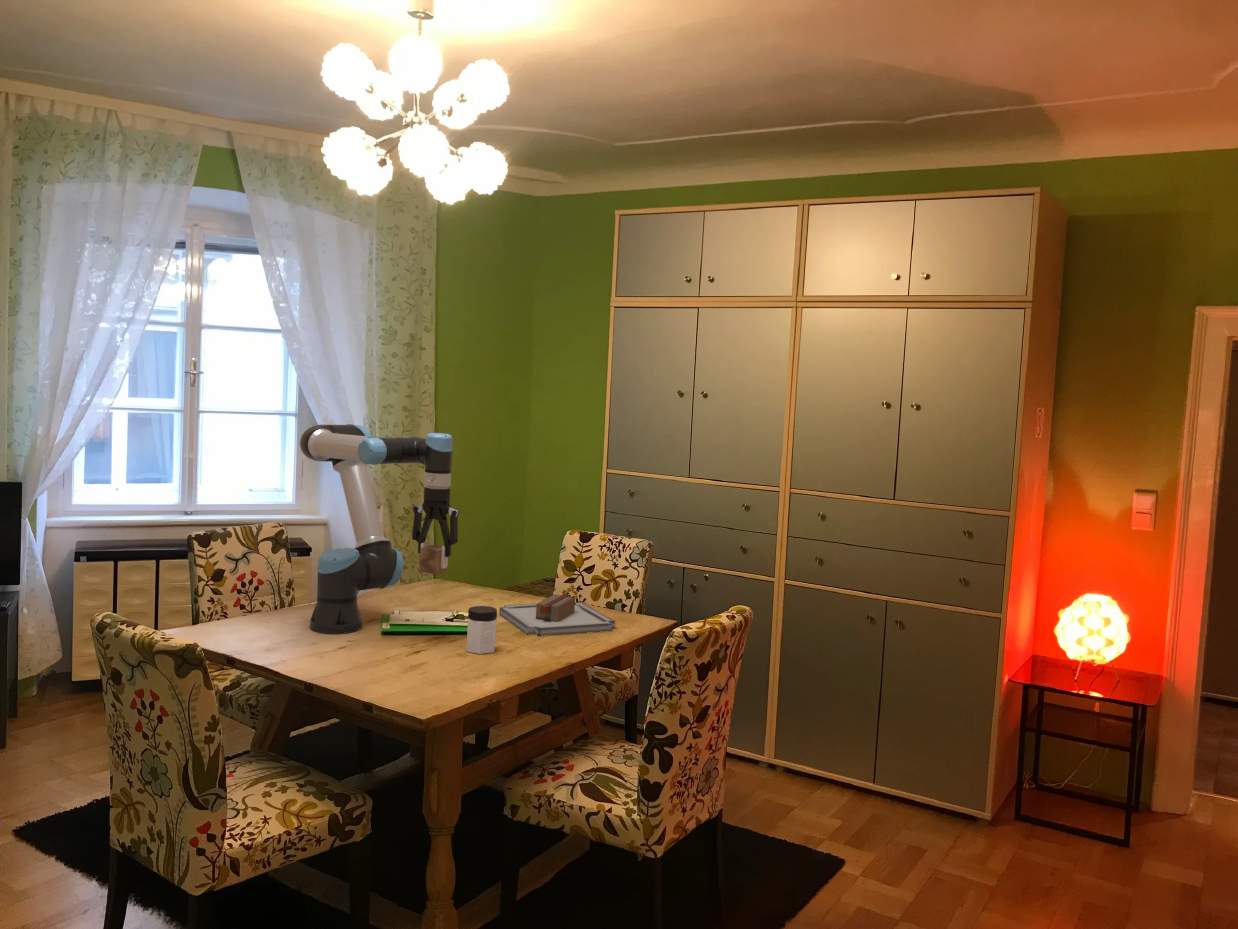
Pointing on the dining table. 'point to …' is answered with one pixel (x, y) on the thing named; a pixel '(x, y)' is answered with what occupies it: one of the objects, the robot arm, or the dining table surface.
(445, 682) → the dining table surface
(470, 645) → the jar
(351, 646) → the dining table surface
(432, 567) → the walnut block
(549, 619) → the grey tray
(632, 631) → the dining table surface
